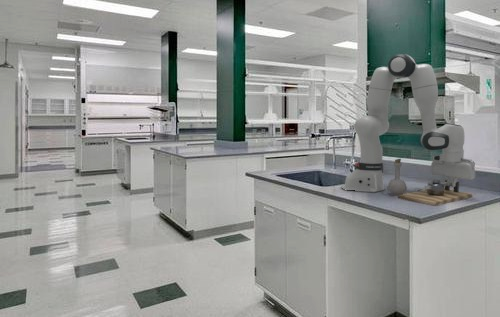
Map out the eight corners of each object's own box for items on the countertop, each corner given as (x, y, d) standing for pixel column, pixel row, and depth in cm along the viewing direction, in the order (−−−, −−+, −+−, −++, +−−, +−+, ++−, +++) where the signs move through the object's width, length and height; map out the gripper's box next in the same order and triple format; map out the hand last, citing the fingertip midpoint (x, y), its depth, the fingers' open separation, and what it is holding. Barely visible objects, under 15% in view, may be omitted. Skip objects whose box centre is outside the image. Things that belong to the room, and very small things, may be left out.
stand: (434, 205, 153) (435, 191, 152) (398, 198, 168) (398, 184, 167) (472, 196, 169) (473, 183, 168) (435, 190, 184) (436, 178, 183)
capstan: (432, 197, 161) (433, 183, 160) (418, 194, 167) (419, 181, 166) (457, 192, 171) (457, 178, 171) (442, 189, 177) (443, 176, 177)
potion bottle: (404, 196, 170) (406, 159, 168) (385, 194, 175) (386, 158, 173) (407, 193, 178) (409, 157, 176) (388, 191, 182) (390, 157, 180)
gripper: (479, 159, 161) (477, 189, 163) (437, 155, 179) (436, 182, 181) (470, 160, 158) (469, 190, 160) (429, 156, 177) (428, 183, 178)
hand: (451, 186), depth 171 cm, fingers closed
